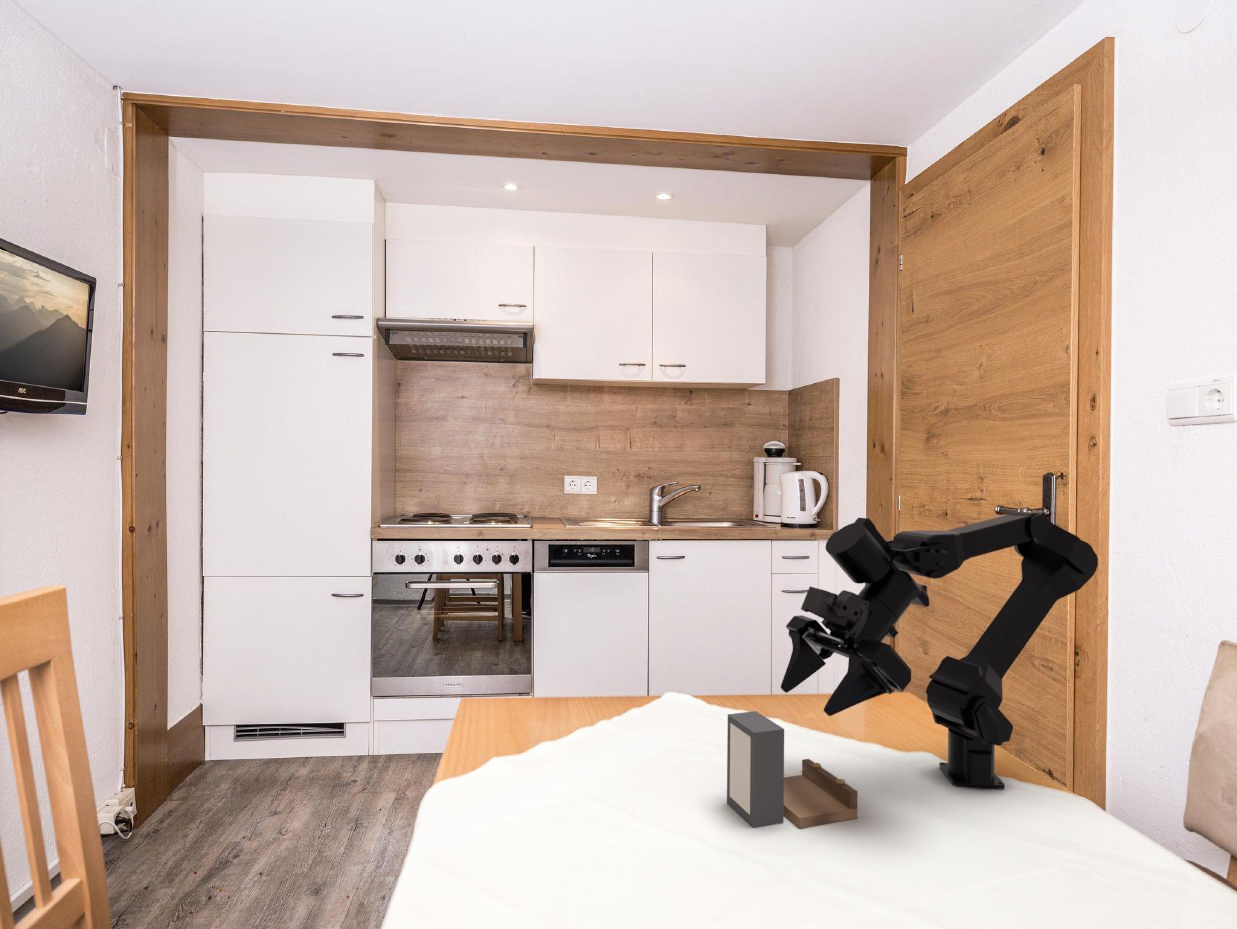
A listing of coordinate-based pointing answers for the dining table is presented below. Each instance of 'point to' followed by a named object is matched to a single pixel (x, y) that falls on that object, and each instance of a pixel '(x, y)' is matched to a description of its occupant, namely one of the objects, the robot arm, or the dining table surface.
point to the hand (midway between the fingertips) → (803, 701)
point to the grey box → (755, 768)
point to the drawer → (818, 797)
